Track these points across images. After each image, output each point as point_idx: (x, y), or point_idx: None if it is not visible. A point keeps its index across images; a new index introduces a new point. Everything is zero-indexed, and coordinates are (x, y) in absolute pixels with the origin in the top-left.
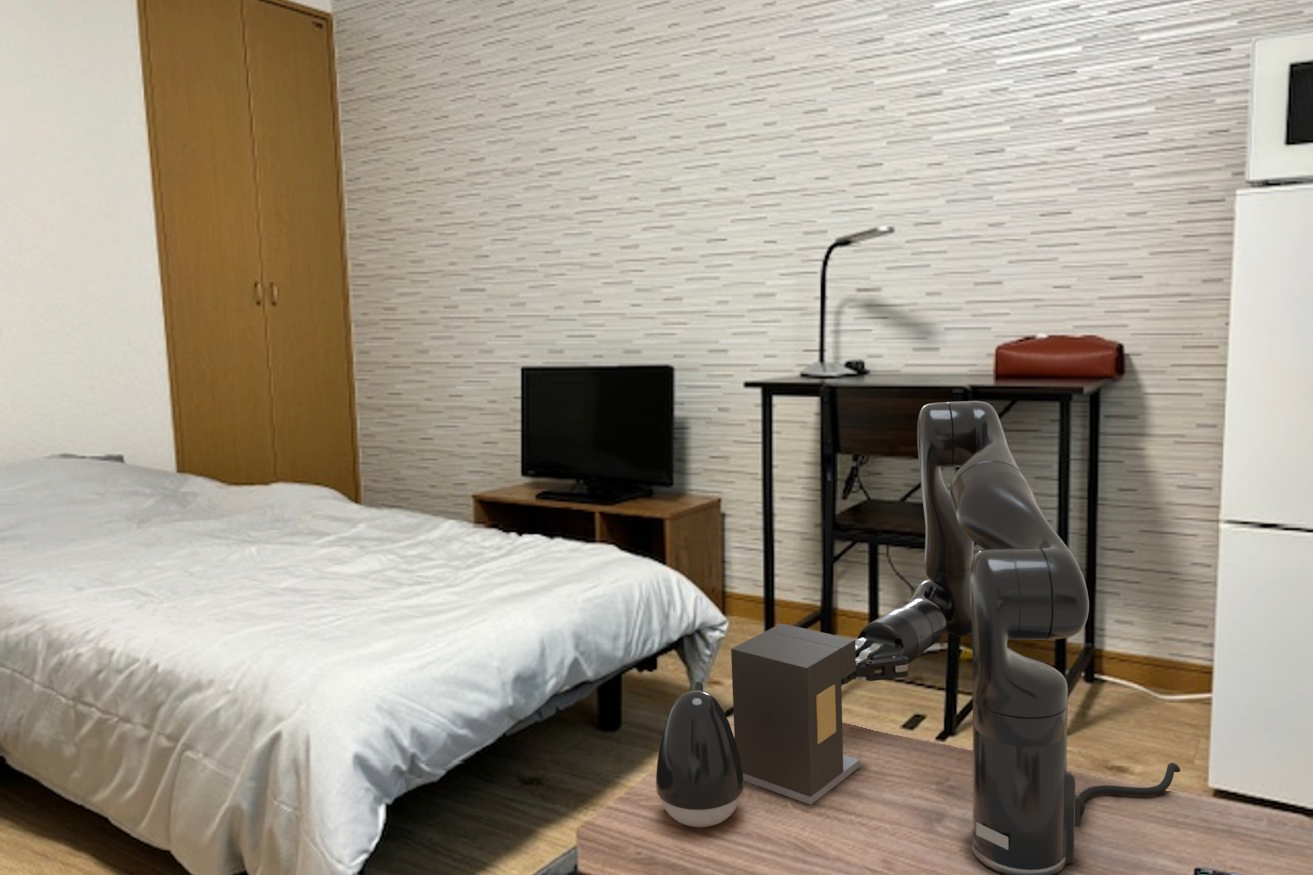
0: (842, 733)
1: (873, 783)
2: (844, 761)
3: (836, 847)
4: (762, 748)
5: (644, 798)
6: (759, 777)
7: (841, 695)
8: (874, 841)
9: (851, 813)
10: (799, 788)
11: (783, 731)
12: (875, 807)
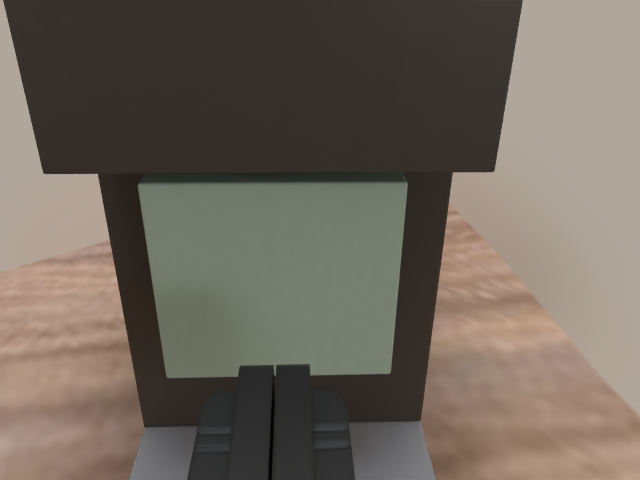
0: (125, 322)
1: (49, 476)
2: (164, 478)
3: (81, 275)
4: None
5: (454, 236)
6: None
7: (101, 192)
8: (10, 308)
9: (79, 349)
10: None
11: None
12: (24, 388)
